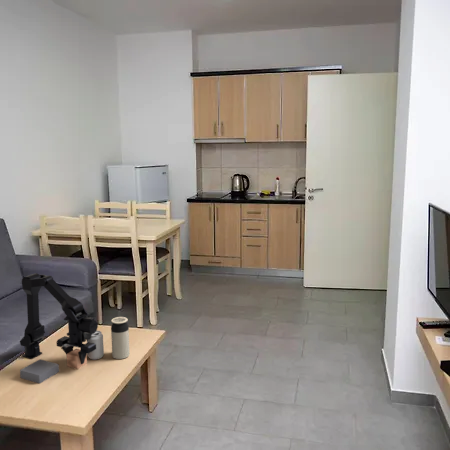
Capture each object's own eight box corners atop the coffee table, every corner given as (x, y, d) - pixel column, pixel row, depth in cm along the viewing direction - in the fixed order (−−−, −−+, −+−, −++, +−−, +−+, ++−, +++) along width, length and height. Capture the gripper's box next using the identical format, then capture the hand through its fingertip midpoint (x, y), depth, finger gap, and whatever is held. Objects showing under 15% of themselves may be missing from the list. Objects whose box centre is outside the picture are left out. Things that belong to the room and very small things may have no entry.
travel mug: (128, 359, 214) (127, 322, 211) (111, 359, 213) (109, 323, 210) (130, 351, 222) (129, 316, 219) (113, 352, 221) (112, 316, 218)
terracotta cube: (67, 366, 207) (66, 353, 206) (77, 360, 213) (76, 348, 211) (77, 369, 205) (76, 356, 204) (87, 363, 210) (86, 351, 209)
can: (99, 361, 212) (98, 336, 210) (84, 359, 214) (83, 335, 212) (106, 353, 219) (105, 330, 217) (92, 352, 221) (91, 328, 219)
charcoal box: (20, 378, 197) (19, 370, 196) (40, 367, 207) (39, 359, 206) (39, 384, 193) (39, 375, 192) (59, 372, 202) (58, 364, 202)
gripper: (103, 327, 209) (105, 359, 212) (72, 320, 217) (74, 351, 220) (86, 336, 199) (88, 369, 202) (54, 328, 207) (56, 360, 210)
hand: (77, 362), depth 208 cm, fingers closed on terracotta cube, 6 cm apart
